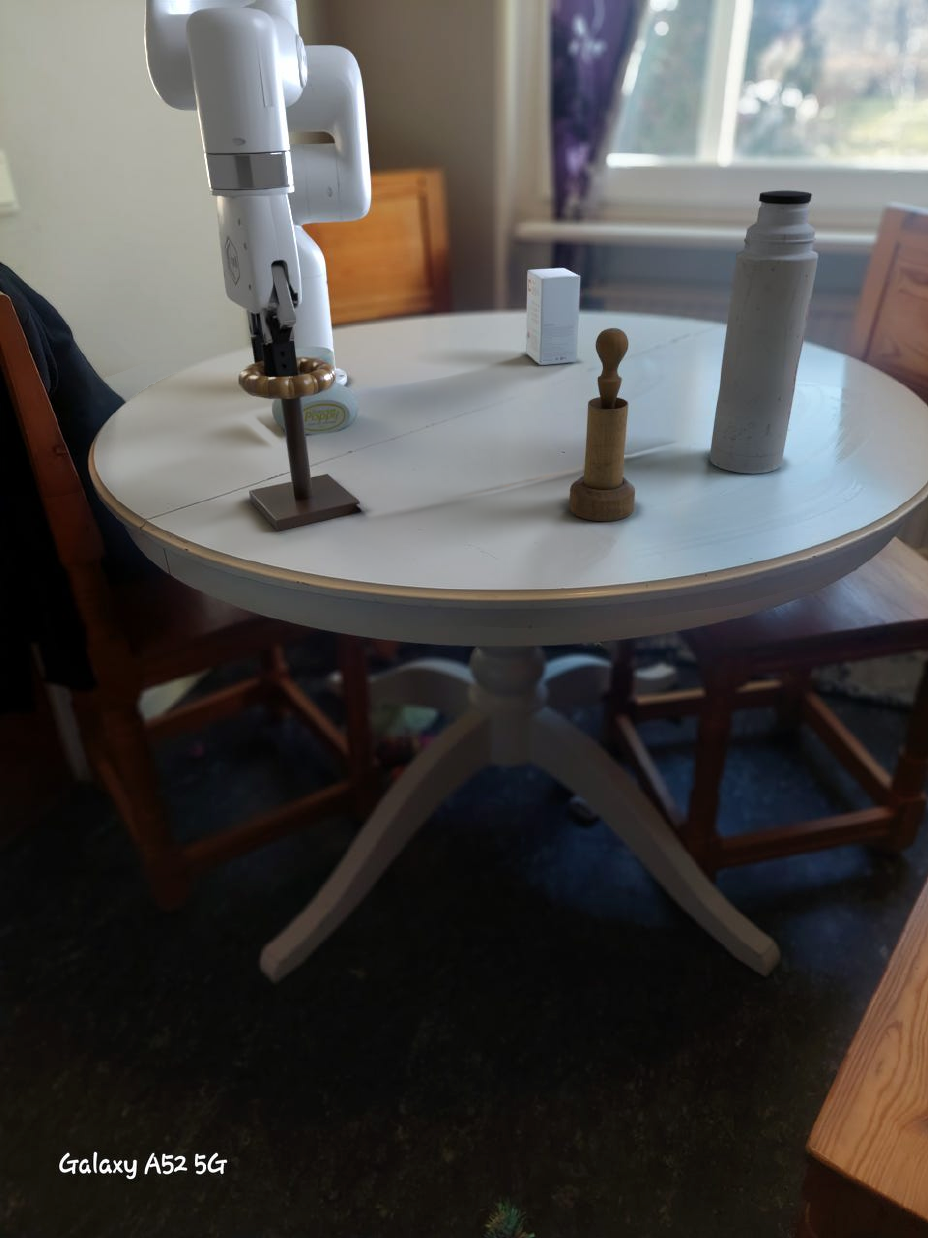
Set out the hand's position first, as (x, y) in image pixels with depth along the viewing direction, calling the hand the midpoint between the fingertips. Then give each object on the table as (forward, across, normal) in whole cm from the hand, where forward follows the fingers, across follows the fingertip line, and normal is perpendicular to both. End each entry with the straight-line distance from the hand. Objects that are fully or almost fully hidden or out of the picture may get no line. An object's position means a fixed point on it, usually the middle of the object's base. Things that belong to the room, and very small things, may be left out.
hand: (277, 377), depth 88 cm
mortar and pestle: (+13, +20, +26) cm, 36 cm away
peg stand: (+13, +4, 0) cm, 13 cm away
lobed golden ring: (-1, +3, 0) cm, 4 cm away
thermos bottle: (+13, +18, +48) cm, 53 cm away
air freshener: (+13, -18, +10) cm, 25 cm away
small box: (+13, -32, +55) cm, 65 cm away
